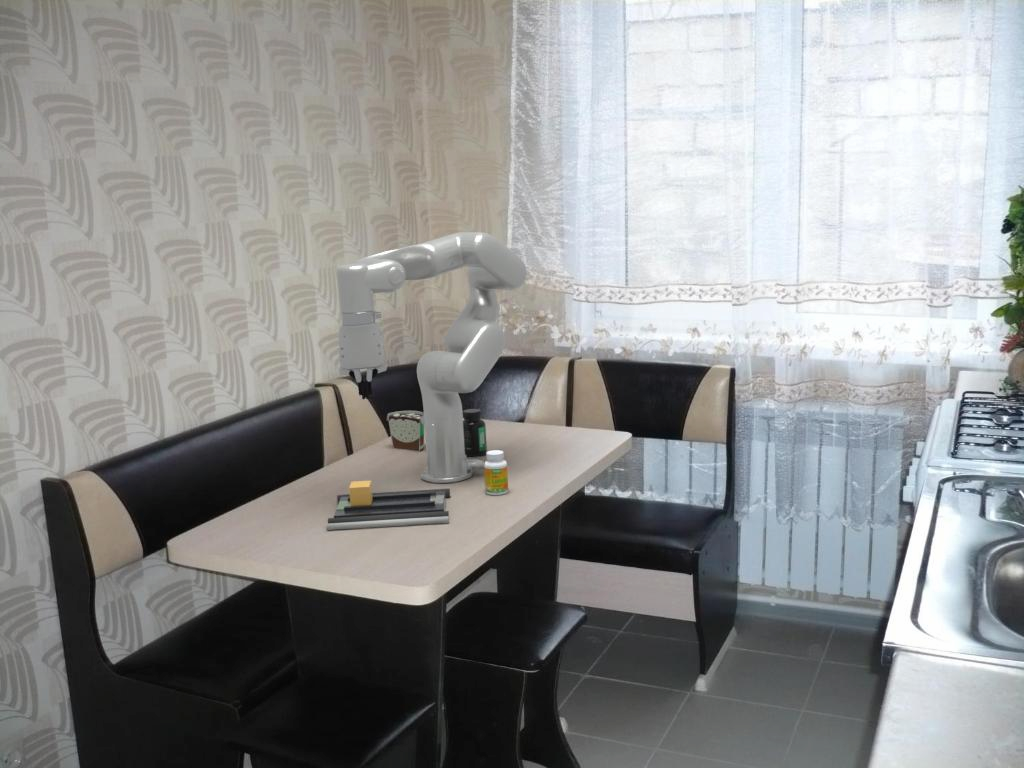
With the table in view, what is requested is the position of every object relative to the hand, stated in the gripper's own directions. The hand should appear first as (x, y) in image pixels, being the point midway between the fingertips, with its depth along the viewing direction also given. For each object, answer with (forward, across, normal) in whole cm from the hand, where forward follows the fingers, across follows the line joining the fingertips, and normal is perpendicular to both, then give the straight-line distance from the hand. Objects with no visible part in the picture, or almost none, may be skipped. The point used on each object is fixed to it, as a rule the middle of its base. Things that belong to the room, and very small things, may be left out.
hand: (366, 397), depth 243 cm
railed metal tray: (+24, -4, +10) cm, 27 cm away
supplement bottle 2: (+25, -28, +2) cm, 38 cm away
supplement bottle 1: (+26, -25, -34) cm, 50 cm away
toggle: (+22, +3, +10) cm, 24 cm away
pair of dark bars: (+24, -4, +10) cm, 27 cm away
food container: (+26, -9, -46) cm, 54 cm away
